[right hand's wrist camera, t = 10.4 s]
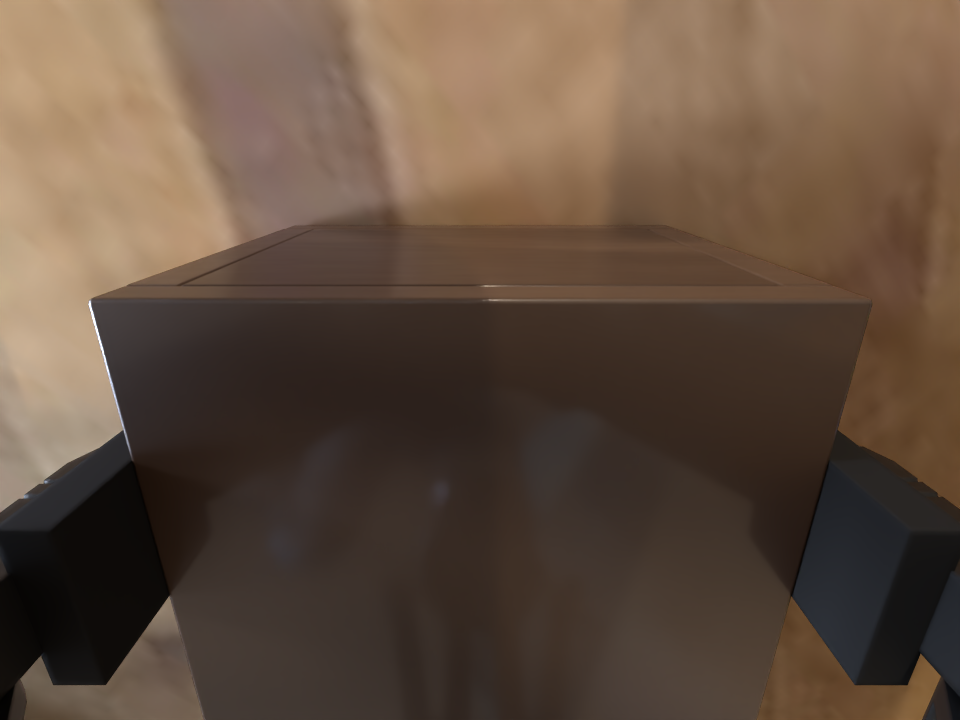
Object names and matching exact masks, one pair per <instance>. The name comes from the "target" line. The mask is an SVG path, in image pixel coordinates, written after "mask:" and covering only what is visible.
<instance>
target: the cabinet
mask: <svg viewBox="0 0 960 720" xmlns="http://www.w3.org/2000/svg"><path fill="white" fill-rule="evenodd" d="M871 307H872V300H871V299H869V298H867V297H864V296H862V295H859V294H856V293H853V292H850V291H848V290H845V289H842V288H839V287H836V286H833V285H831V284H828V283H825V282H823V281H820V280H817V279H814V278H811V277H809V276H806V275H803V274H800V273H797V272H795V271H792V270H789V269H786V268H783V267H781V266H778V265H775V264H772V263H769V262H767V261H764V260H761V259H758V258H755V257H753V256H750V255H747V254H744V253H741V252H739V251H736V250H733V249H730V248H727V247H725V246H722V245H719V244H716V243H713V242H711V241H708V240H705V239H702V238H699V237H697V236H694V235H691V234H688V233H685V232H683V231H680V230H677V229H674V228H671V227H668V226H292V227H290V228H287V229H283V230H280V231H277V232H274V233H272V234H269V235H266V236H263V237H260V238H258V239H255V240H252V241H249V242H246V243H244V244H241V245H238V246H235V247H232V248H229V249H227V250H224V251H221V252H218V253H215V254H213V255H210V256H207V257H204V258H201V259H199V260H196V261H193V262H190V263H187V264H185V265H182V266H179V267H176V268H173V269H171V270H168V271H165V272H162V273H159V274H157V275H154V276H151V277H148V278H145V279H143V280H140V281H137V282H134V283H131V284H129V285H127V286H125V287H122V288H119V289H116V290H113V291H111V292H108V293H105V294H102V295H99V296H97V297H94V298H92V299H90V300H89V308H90V311H91V315H92V318H93V322H94V326H95V329H96V333H97V336H98V340H99V344H100V347H101V351H102V354H103V358H104V362H105V365H106V369H107V372H108V376H109V380H110V383H111V387H112V390H113V394H114V398H115V401H116V405H117V408H118V412H119V416H120V419H121V423H122V426H123V430H124V434H125V437H126V441H127V444H128V448H129V452H130V455H131V459H132V462H133V466H134V470H135V473H136V477H137V480H138V484H139V488H140V491H141V495H142V498H143V502H144V506H145V509H146V513H147V516H148V520H149V524H150V527H151V531H152V534H153V538H154V542H155V545H156V549H157V552H158V556H159V560H160V563H161V567H162V570H163V574H164V578H165V581H166V585H167V588H168V592H169V596H170V599H171V603H172V606H173V610H174V614H175V617H176V621H177V624H178V628H179V632H180V635H181V639H182V642H183V646H184V650H185V653H186V657H187V660H188V664H189V668H190V671H191V675H192V678H193V682H194V686H195V689H196V693H197V696H198V700H199V704H200V707H201V711H202V714H203V718H204V720H757V717H758V713H759V710H760V706H761V703H762V699H763V695H764V692H765V688H766V685H767V681H768V677H769V674H770V670H771V667H772V663H773V659H774V656H775V652H776V649H777V645H778V641H779V638H780V634H781V631H782V627H783V623H784V620H785V616H786V613H787V609H788V606H789V602H790V598H791V595H792V591H793V588H794V584H795V580H796V577H797V573H798V570H799V566H800V562H801V559H802V555H803V552H804V548H805V544H806V541H807V537H808V534H809V530H810V526H811V523H812V519H813V516H814V512H815V508H816V505H817V501H818V498H819V494H820V490H821V487H822V483H823V480H824V476H825V472H826V469H827V465H828V462H829V458H830V454H831V451H832V447H833V444H834V440H835V436H836V433H837V429H838V426H839V422H840V419H841V415H842V411H843V408H844V404H845V401H846V397H847V393H848V390H849V386H850V383H851V379H852V375H853V372H854V368H855V365H856V361H857V357H858V354H859V350H860V347H861V343H862V339H863V336H864V332H865V329H866V325H867V321H868V318H869V314H870V311H871Z"/></svg>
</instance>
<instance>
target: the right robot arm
mask: <svg viewBox="0 0 960 720" xmlns="http://www.w3.org/2000/svg"><path fill="white" fill-rule="evenodd" d="M791 596H792V597H793V599H794V600H795V602H796V603H797V604H798V606H799V607H800V609H801V610H802V611H803V613H804V614H805V616H806V617H807V618H808V620H809V621H810V623H811V624H812V625H813V627H814V628H815V630H816V631H817V632H818V634H819V635H820V637H821V638H822V639H823V641H824V642H825V644H826V645H827V647H828V648H829V649H830V651H831V652H832V654H833V655H834V656H835V658H836V659H837V661H838V662H839V663H840V665H841V666H842V668H843V669H844V670H845V672H846V673H847V675H848V676H849V677H850V679H851V680H852V682H853V683H854V684H855V685H908V683H909V680H910V678H911V675H912V673H913V671H914V668H915V666H916V663H917V661H918V658H919V656H920V654H922V655H923V656H924V658H925V659H926V660H927V661H928V662H929V663H930V664H931V665H932V666H933V668H934V669H935V670H936V671H937V672H938V673H939V674H940V675H941V678H940V680H939V682H938V685H937V687H936V689H935V692H934V694H933V696H932V698H931V701H930V703H929V705H928V707H927V710H926V712H925V714H924V716H923V719H922V720H960V509H958V508H957V507H956V506H954V505H953V504H952V503H950V502H949V501H948V500H946V499H945V498H943V497H938V495H937V492H935V491H934V490H932V489H931V488H930V487H928V486H927V485H926V484H924V483H923V482H918V481H917V478H916V477H915V476H913V475H912V474H911V473H909V472H908V471H906V470H905V469H904V468H902V467H901V466H900V465H898V464H897V463H895V462H894V461H892V460H890V459H888V458H886V457H884V456H882V455H879V454H877V453H875V452H873V451H871V450H869V449H867V448H865V447H859V446H858V445H857V444H855V443H854V442H853V441H851V440H850V439H849V438H847V437H846V436H845V435H843V434H842V433H841V432H839V431H838V430H837V433H836V436H835V440H834V444H833V447H832V451H831V454H830V458H829V462H828V465H827V469H826V472H825V476H824V480H823V483H822V487H821V490H820V494H819V498H818V501H817V505H816V508H815V512H814V516H813V519H812V523H811V526H810V530H809V534H808V537H807V541H806V544H805V548H804V552H803V555H802V559H801V562H800V566H799V570H798V573H797V577H796V580H795V584H794V588H793V591H792V595H791ZM168 597H169V592H168V588H167V585H166V581H165V578H164V574H163V570H162V567H161V563H160V560H159V556H158V552H157V549H156V545H155V542H154V538H153V534H152V531H151V527H150V524H149V520H148V516H147V513H146V509H145V506H144V502H143V498H142V495H141V491H140V488H139V484H138V480H137V477H136V473H135V470H134V466H133V462H132V459H131V455H130V452H129V448H128V444H127V441H126V437H125V434H124V430H123V431H121V432H120V433H119V434H117V435H116V436H115V437H113V438H112V439H111V440H109V441H108V442H107V443H105V444H104V445H103V446H101V447H100V448H98V449H96V450H94V451H92V452H90V453H88V454H86V455H84V456H82V457H79V458H77V459H75V460H73V461H71V462H69V463H67V464H66V465H64V466H63V467H62V468H60V469H59V470H58V471H56V472H55V473H54V474H52V475H51V476H49V477H48V478H47V479H45V480H44V484H39V485H37V486H36V487H35V488H33V489H32V490H30V491H29V492H28V493H26V494H25V495H24V499H18V500H17V501H15V502H14V503H13V504H11V505H10V506H9V507H7V508H6V509H5V510H3V511H2V512H1V513H0V720H24V714H25V708H26V703H27V701H26V694H25V689H24V687H23V685H22V682H21V680H20V678H21V677H22V676H23V675H24V674H25V673H26V671H27V670H28V669H29V668H30V667H31V666H32V665H33V664H34V662H35V661H36V660H37V659H38V658H39V657H40V656H42V659H43V661H44V664H45V666H46V669H47V671H48V673H49V676H50V678H51V681H52V683H53V685H106V684H107V682H108V681H109V680H110V678H111V677H112V675H113V674H114V673H115V671H116V670H117V668H118V667H119V666H120V664H121V663H122V661H123V660H124V659H125V657H126V656H127V654H128V653H129V652H130V650H131V649H132V647H133V646H134V645H135V643H136V642H137V640H138V639H139V637H140V636H141V635H142V633H143V632H144V630H145V629H146V628H147V626H148V625H149V623H150V622H151V621H152V619H153V618H154V616H155V615H156V614H157V612H158V611H159V609H160V608H161V607H162V605H163V604H164V602H165V601H166V600H167V598H168Z"/></svg>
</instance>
